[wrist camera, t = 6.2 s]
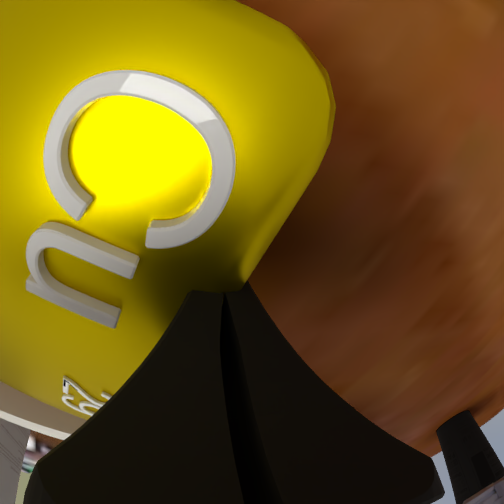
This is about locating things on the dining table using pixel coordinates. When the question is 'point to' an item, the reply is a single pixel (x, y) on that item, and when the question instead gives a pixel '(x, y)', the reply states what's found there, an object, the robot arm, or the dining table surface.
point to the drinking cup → (468, 456)
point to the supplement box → (11, 458)
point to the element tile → (139, 175)
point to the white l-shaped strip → (36, 414)
